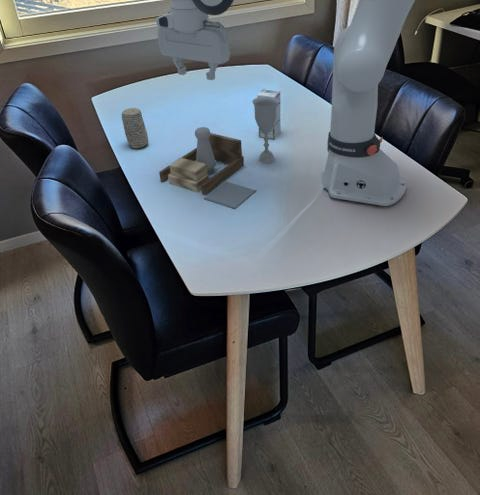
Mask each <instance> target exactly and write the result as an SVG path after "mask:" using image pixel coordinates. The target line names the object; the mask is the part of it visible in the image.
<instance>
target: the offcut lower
mask: <svg viewBox="0 0 480 495" xmlns="http://www.w3.org/2000/svg"><path fill="white" fill-rule="evenodd" d="M208 179H210V177H209V174H206V175H205V176H204V177H202V178H201V179H200V180H199V181H197V182H196V181H192V180H189V179H185V178H181V177H177V176H174V175H171V174H169V175H168V179H167V180H168V183H169V185H173V186H176V187H180V188H183V189H185V190H189V191H192V192H195V193H198V192H200V190H201V191H202V188H201V184H203V183H204V182H205V181H207V180H208Z"/></svg>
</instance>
